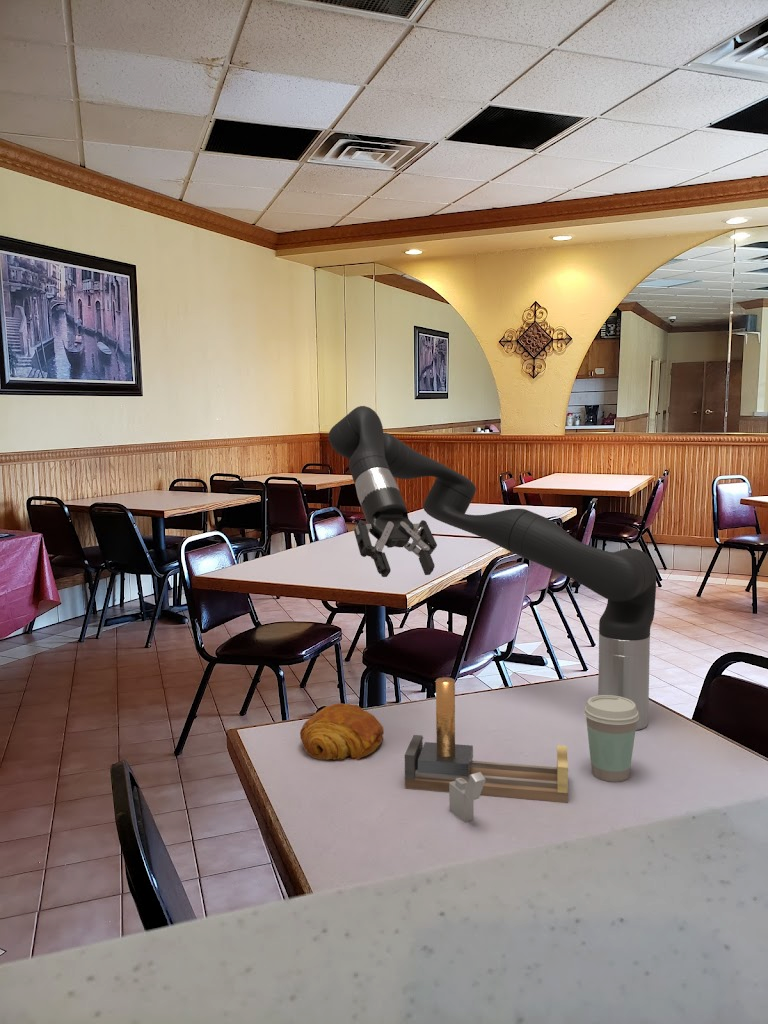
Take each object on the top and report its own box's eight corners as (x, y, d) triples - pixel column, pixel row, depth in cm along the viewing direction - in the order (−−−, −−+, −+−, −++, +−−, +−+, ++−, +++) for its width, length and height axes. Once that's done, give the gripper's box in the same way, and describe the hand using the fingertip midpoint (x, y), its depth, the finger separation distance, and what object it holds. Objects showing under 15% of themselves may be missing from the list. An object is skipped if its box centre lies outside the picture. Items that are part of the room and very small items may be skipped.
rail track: (413, 766, 126) (413, 734, 126) (566, 778, 121) (566, 745, 120) (405, 788, 118) (404, 754, 118) (567, 802, 113) (567, 767, 112)
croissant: (288, 765, 132) (282, 724, 131) (334, 723, 146) (329, 685, 144) (359, 780, 126) (353, 737, 124) (400, 734, 139) (396, 695, 137)
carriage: (425, 753, 125) (424, 672, 124) (473, 757, 123) (472, 674, 122) (417, 772, 118) (416, 686, 117) (468, 776, 117) (468, 689, 115)
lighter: (448, 809, 112) (448, 758, 111) (458, 806, 112) (458, 755, 112) (476, 832, 105) (475, 777, 104) (486, 828, 106) (486, 775, 105)
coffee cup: (638, 766, 125) (639, 696, 124) (637, 789, 117) (639, 715, 116) (585, 759, 128) (586, 691, 126) (581, 782, 120) (582, 709, 118)
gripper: (405, 511, 141) (434, 583, 133) (337, 511, 134) (363, 587, 126) (422, 486, 136) (453, 560, 128) (352, 484, 129) (380, 562, 121)
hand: (408, 573), depth 127 cm, fingers open, 8 cm apart
